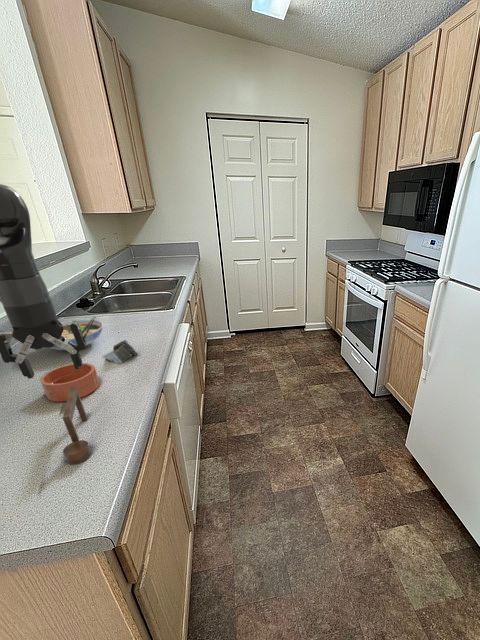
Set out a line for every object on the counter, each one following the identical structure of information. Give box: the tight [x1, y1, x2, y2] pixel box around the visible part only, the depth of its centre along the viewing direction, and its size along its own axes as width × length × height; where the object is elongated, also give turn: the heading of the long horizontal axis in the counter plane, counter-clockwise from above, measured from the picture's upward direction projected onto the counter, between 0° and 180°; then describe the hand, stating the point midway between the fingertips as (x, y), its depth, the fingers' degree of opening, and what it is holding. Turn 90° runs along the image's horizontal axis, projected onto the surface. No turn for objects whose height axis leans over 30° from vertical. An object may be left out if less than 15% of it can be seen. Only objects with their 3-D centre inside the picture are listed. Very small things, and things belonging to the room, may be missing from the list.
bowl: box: [39, 362, 100, 403], centre depth 99 cm, size 14×14×6 cm
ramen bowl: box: [49, 316, 104, 351], centre depth 128 cm, size 25×23×8 cm
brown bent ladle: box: [62, 386, 92, 466], centre depth 78 cm, size 18×5×10 cm, turn 26°
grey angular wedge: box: [105, 339, 138, 365], centre depth 119 cm, size 10×7×12 cm
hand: (55, 372), depth 72 cm, fingers open, 8 cm apart
